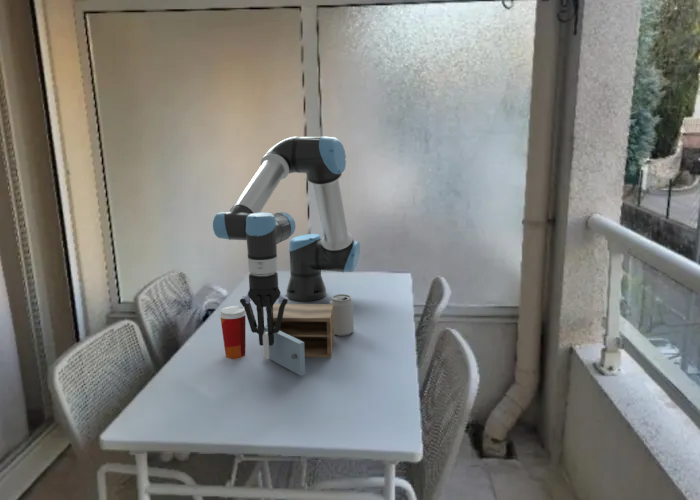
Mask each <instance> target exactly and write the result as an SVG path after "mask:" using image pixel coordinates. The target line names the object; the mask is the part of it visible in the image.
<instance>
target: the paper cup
mask: <svg viewBox="0 0 700 500" xmlns="http://www.w3.org/2000/svg"><path fill="white" fill-rule="evenodd" d="M218 316H219V318H220V324H221V330H222V339H223V345H224V353H225V357H226V358H227V359H229V360H238V359H242V358H244V357H245V355H246V316H247V315H246V312H245V309H244V307H243V306H240V305H231V306H226V307H223V308H221V310H220V313H219V315H218Z"/></svg>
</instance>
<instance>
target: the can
mask: <svg viewBox="0 0 700 500" xmlns="http://www.w3.org/2000/svg"><path fill="white" fill-rule="evenodd" d="M329 304H333V307H334V336H340V337H341V336H343V337H344V336H349V335H351V334H352V333H353V332H354V331H355V330H354V329H355V327H354V326H355V325H354V324H355V323H354V315H355V314H354V300H353V299H352V296H351V295H350V294H346V293H340V294H339V293H338V294H334V295H332V296H331V300H329Z"/></svg>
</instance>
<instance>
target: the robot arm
mask: <svg viewBox="0 0 700 500" xmlns="http://www.w3.org/2000/svg"><path fill="white" fill-rule="evenodd" d="M346 158H347V156H346V151H345V148H344V144H343V143H342V141H340V139H338V138H337V137H335V136H326V135H324V136H291V137H288V138H285V139H283V140H281V141H279V142H277V143H276V144H275V145H273V146H272V147H270V148H269V150H267V151H266V153H265V154H264V155H263V156H262V158H261V161H260V167H258V170H257V171H256V172H255V174H254V175H253V177H252V178H251V180H250V181H249V183H247V185H246V186H245V188H244V190H243V191H242V193H241V194H240V195H239V197H238V198H237V200H236V201H235V202H234V204H233V205H232V207H231V208H230V210H229V211H228V212H227V211H223V212H217V213H216V214H215V216H214V218H213V220H212V221H213V222H212V229H213V232H214V233H213V234H214V235H215V237H217V238H218V239H224V240H229V241H231V240H232V241H246V245H247V246H246V247H247V249H246V250H247V268H248V270H247V271H248V272H249V274H248V283H249V285H248V286H249V288H248V292H247V294H246V295H243V296H241V298H240V299H239V303H240V304H241V306H242V307H243V308H244V309H245V312H246V315H245V316H246V317H247V320H248V325H249V327H250V331H251V333H253V334H254V333H255V334H258V344H259V346H262V349H263V353H262V354H263V359H269V357H270V355H271V346H273V344H274V333H278V332H279V330H280V328H281V323H282V318H283V313H284V309H285V305H286V304H288V301H289V300H292V301H298V302H310V301H317V300H320V299H323V298H324V297H326V296H327V288H326V286H325V285H326V284H325V282H324V280H323V276H322V271H327V272H336V273H337V272H338V273H339V272H340V273H351V272H352V273H353V272H354V271H356V269H357V267H358V263H359V259H360V252H361V244H360V242H359V241H358V240H354V237H353V235H352V233H351V232H350V231H348V227H347V221H346V215H345V210H344V205H343V197H342V194H341V193H342V191H341V187H340V181H339V179H340V178H341V177H342V175H343V174H342V173H343V172H344V171H345V170H346V164H347V160H346ZM294 173H298V174H299V173H300V174H306V179H307V181H308V182H309V183H310V184H312V185H313V189H314V194H315V198H316V203H317V208H318V209H317V210H318V214H319V218H320V223H321V228H322V233H323V236H322V237H321V235H320V234H319V233H308V234H302V235H298V236H295V237H292V238H291V239H290V241H289V246H288V247H289V250H288V253H289V268H290V277H289V281H288V283H287V287H286V295H283V294H282V293H281V290H280V289H279V288H280V287H279V276H278V275H279V274H278V272H277V271H278V255H277V254H278V253H277V252H278V251H277V250H278V249H277V247H278V246H277V245H278V244H280V243H281V242H283V241H287V240H289V238H290V237H291V236H293V235H294V233H295V231H296V223H295V222H296V221H295V219H294V218H293V216H292V215H291V214H289V213H288V212H284V211H282V212H276V213H271V212H266V211H264V212H262V210H263V208H264V207H265V205H266V204H267V202H268V201H269V199H270V198H271V196H272V195H273V193H274V191H275V190H276V188H277V187H278V186H279V183H280V182H281V181H282V180H284V179H286V177H288V175H289V174H294ZM277 300H278V304H281V305H280V307H279V311H278V316H277V321H276V326H275V327H274V320H273V305H274V304H276V302H277ZM251 301H252V302H253V304H254V305H255V306H256V316H257V317H255V314H254V310H253V307H252V305H251ZM264 308H265V311H266V325H268V332H264V330H265V329H264V326H265V313H264ZM256 318H257V320H256Z"/></svg>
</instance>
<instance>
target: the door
mask: <svg viewBox="0 0 700 500" xmlns="http://www.w3.org/2000/svg"><path fill="white" fill-rule="evenodd" d="M264 329H265V330H264V332H268V325H267V324H266V325H264ZM268 359H269V360H271V361H273V362H275V363H277V364H278V365H280V366H282V367H284V368H286V369H288V370H290V371H291V372H293V373H295V374H297V375H298V376H302V375H305V374H306V362H305V361H306V357H305V350H304V342H303V341H301V340H299V339H297V338H294V337H292V336H290V335H288V334H286V333H284V332H282V331H280V330H279V332H278V333H274V344H273V346H271V355H270V357H269V358H268Z"/></svg>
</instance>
